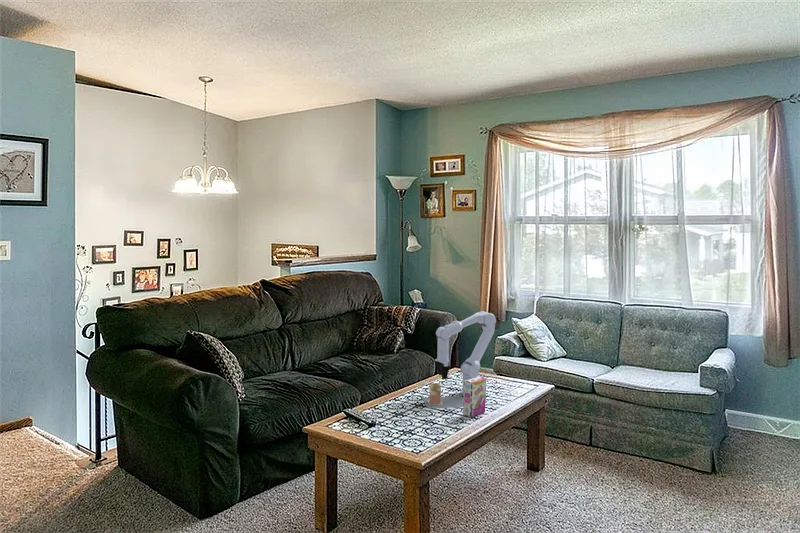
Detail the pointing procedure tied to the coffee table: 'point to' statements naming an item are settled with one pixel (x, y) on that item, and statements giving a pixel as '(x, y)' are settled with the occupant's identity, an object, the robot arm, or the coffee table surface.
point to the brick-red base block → (434, 399)
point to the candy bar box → (474, 396)
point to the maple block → (435, 389)
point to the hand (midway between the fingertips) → (442, 376)
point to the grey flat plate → (445, 402)
